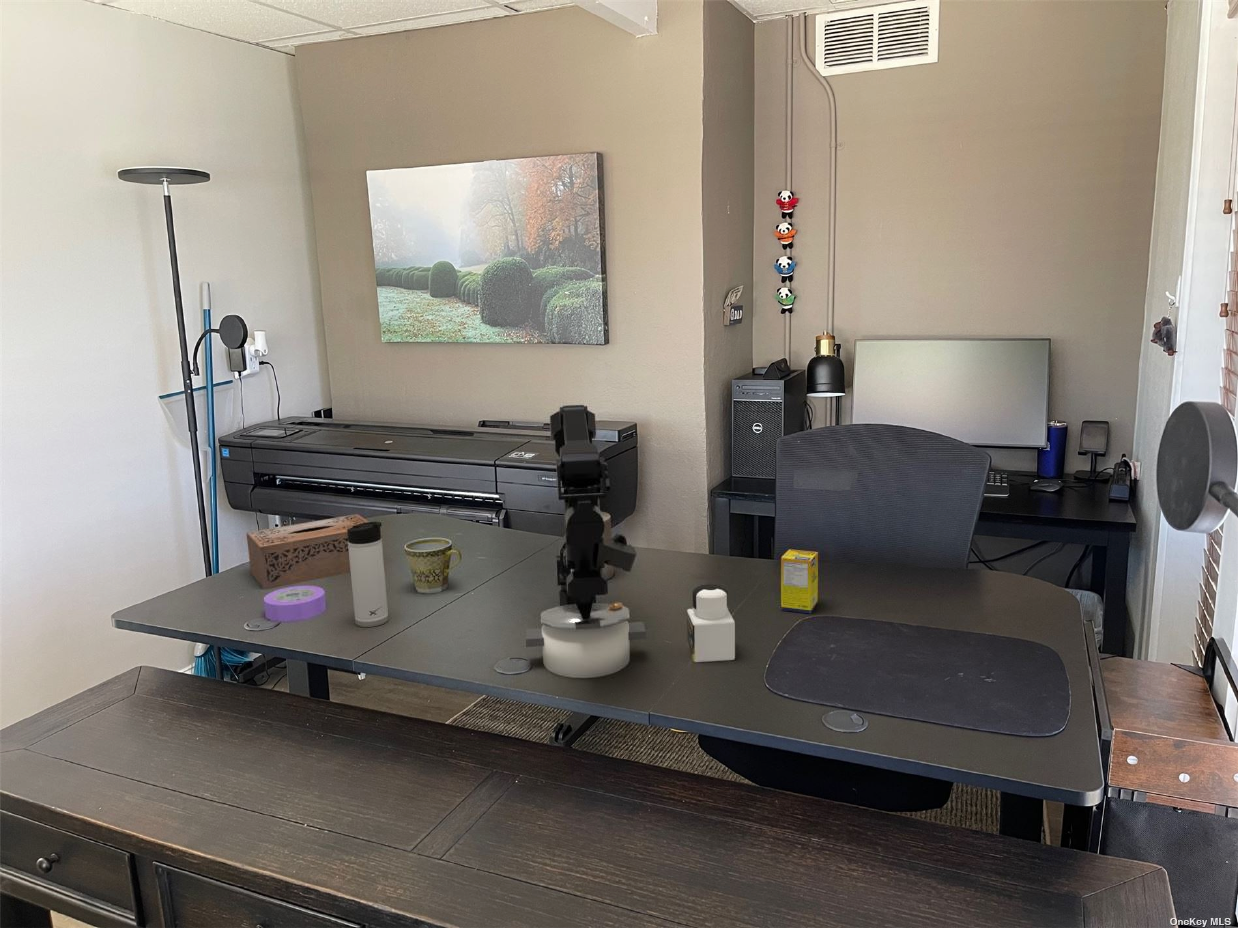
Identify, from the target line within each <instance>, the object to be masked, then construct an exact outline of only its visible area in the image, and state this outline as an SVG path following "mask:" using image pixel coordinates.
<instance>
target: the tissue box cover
mask: <svg viewBox="0 0 1238 928" xmlns="http://www.w3.org/2000/svg"><path fill="white" fill-rule="evenodd" d="M367 522H370V521H368V520H367V519H366V518H364V517H363V516H361V515H360V514H357V513H355V514H349V515H345V516H338V517H333V518H332V517H331V518H326V519H320V520H315V521H314V520H313V521H308V522H302V523H296V524H290V525H289V524H288V525H283V526H278V527H273V528H266V529H261V530H255V531H254V530H253V531H249V532H248V531H247V532H246V533H245V534H246V541H247V549H248V559H249V566H250V573H251V575H252V576H253V578H255V580H256V581H257V582H258V583H259V584H260V585H261V587H262V588H263V589H264V590H270V589H275V588H279V587H285V586H290V585H293V584H294V585H295V584H300V583H303V582H304V583H305V582H309V581H314V580H319V579H325V578H330V577H334V576H339V575H344V574H349V573H350V574H351V570H350V559H349V548H348V545H349V544H348V535H347V529H350V528H352V526H354V525H357V524H361V523H367Z"/></svg>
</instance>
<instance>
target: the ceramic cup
mask: <svg viewBox="0 0 1238 928" xmlns="http://www.w3.org/2000/svg"><path fill="white" fill-rule="evenodd" d="M404 551H405V555H406V559H407V562H408V565H409V567H410V572H411V575H412V579H413V583H414V587H415V589H416V591H417V592H418V593H419V594H428V595H429V594H436V593H441V592H443V591H445V590H447V589H448V585H449V574H450V571H451V570H453V568H454V567H455V566H456V565H458V564H459V563H460V562H461V560H462V554H461V551H460V550H458V549H455V548H454V549H453V542H452V540H450V539H448V538H444V537H426V538H419V539H415V540H412V541H408V543H405V545H404ZM453 553H456V554H457V555H458V560H457V561H456V562H454V563H453V564H452V565H451V566H450V564H451V557H452V554H453Z"/></svg>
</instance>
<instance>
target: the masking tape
mask: <svg viewBox="0 0 1238 928" xmlns="http://www.w3.org/2000/svg"><path fill="white" fill-rule="evenodd" d="M263 606H264V615H265V619H266V620H268V619H270V620H272V621H271V622H274V621H278V622H277V623H291V622H293V623H294V622H299V621H305V620H308V619H312V618H315V617H318V616H319V615H321V614H323V613H324V612H325V611H326V609H327V603H326V593H325V590H324V588H322V587H319V586H315V585H296V586H289V587H288V586H287V587H284V588H280V589H277V590H273V591H271V592H270V593H268V594H266V595H265V596H264V597H263ZM270 620H269V621H270Z"/></svg>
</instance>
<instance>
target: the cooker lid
mask: <svg viewBox="0 0 1238 928" xmlns="http://www.w3.org/2000/svg"><path fill="white" fill-rule="evenodd" d="M629 619H630V609H629V608H628V607H626V606H625V605H623V602H611V603H603V602H600V603H599V602H598V603H597V602H596V603H593V604H592V609H591V614H590V618H589V619H583V618H582V616H581V614H580V612H579V610H578V608H577V605H576V604H573V605H565V606H560V605H559V606H555V607H552V608H549V609H546V610H544V611H542V612H541V613H540V623H541V624H542V626H543V625H545V626H547V627H551V628H558V629H576V630H578V629H593V628H602V627H608V626H613V625H617V624H620V623H623V622H625V621H629Z"/></svg>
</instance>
